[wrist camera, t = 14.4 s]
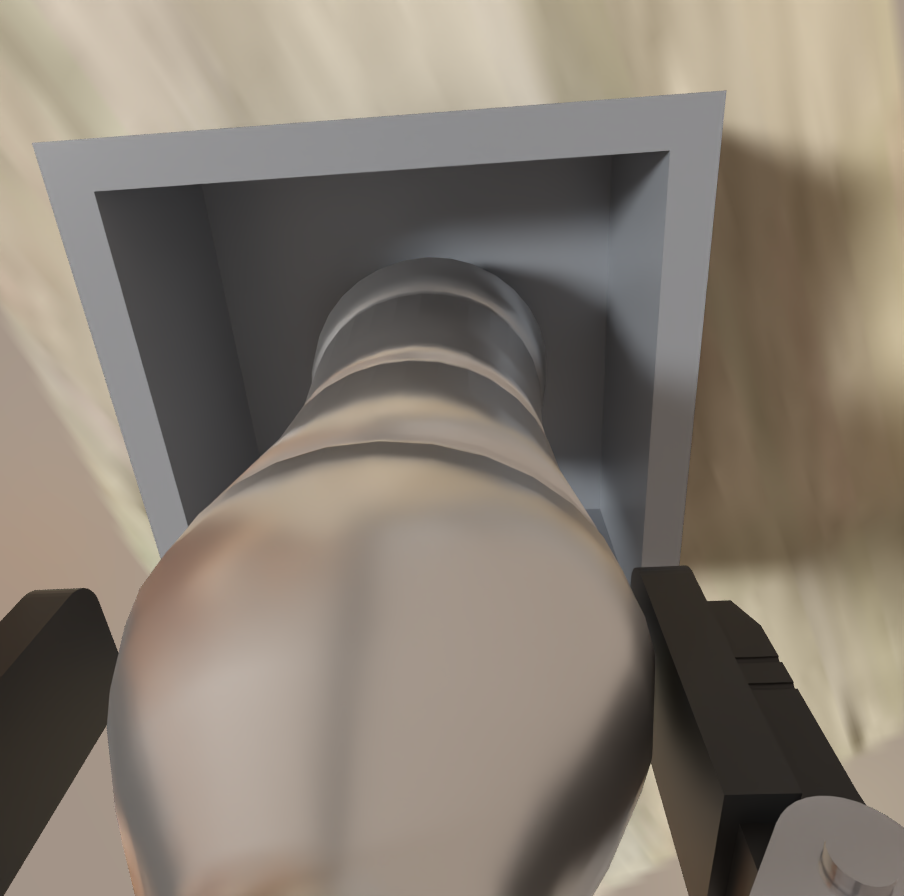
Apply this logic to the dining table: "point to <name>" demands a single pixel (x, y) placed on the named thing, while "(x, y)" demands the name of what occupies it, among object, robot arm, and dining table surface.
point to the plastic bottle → (389, 634)
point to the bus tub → (388, 242)
